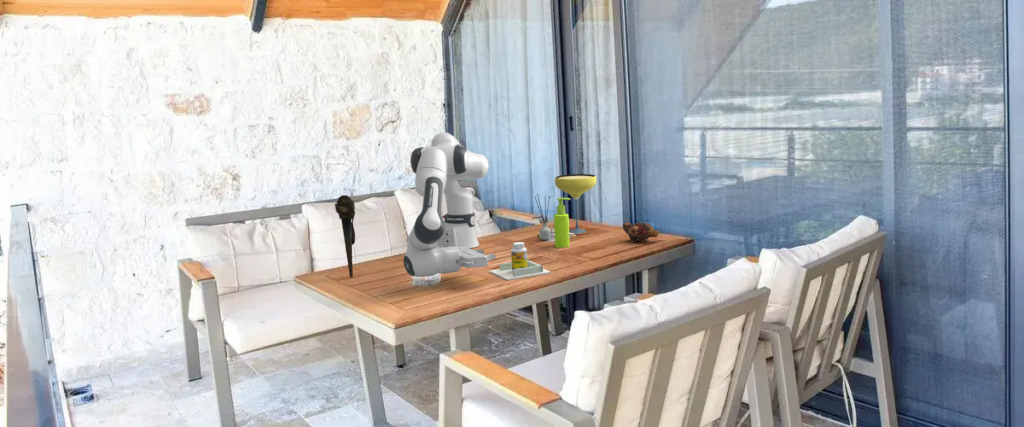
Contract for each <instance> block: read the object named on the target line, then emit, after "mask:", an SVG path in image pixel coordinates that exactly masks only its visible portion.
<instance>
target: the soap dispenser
mask: <svg viewBox="0 0 1024 427" xmlns="http://www.w3.org/2000/svg"><path fill="white" fill-rule="evenodd" d="M556 200H557V201H558V204H557V206H556V213H555V214H553V221H554V223H553V224H554V225H553V226H554V246H555V248H557V249H565V247H567V248H570V247H571V244H570V235H569V231H570V223H569V221H570V220H569V214H568V213H566V206H565V205H564V203H563V202H564V201H565V200H566V201H571V198H569V197H557V198H556ZM563 200H564V201H563Z"/></svg>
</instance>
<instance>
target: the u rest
mask: <svg viewBox="0 0 1024 427" xmlns="http://www.w3.org/2000/svg"><path fill="white" fill-rule="evenodd" d="M488 272H489V273H490V274H492V275H494V276H496V277H499V278H501V279H503V280H506V281H512V280H514V281H515V280H518V279H525V278H531V277H537V276H543V275H549V274H551V273H552V271H550V270H547V269H545V268H544V265H542V264H539V263H538V262H537V263H536V262H534V261H531V260H529V259H527V267H526V268H520V269H514V270H513V271H512V261H509V262H504V263H499V268H498V269H497V268H496V269H492V270H489V271H488Z"/></svg>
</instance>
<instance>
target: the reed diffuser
mask: <svg viewBox="0 0 1024 427" xmlns="http://www.w3.org/2000/svg"><path fill="white" fill-rule="evenodd" d="M550 197H551V196H550V195H549V196H548V200H550V199H551V198H550ZM534 198H535V202H536V204H537V207H538V210H539V213H540V216H541V218H542V227H541V228H540V229H539V233H538V234H537V235H536V237H537V239H540V240H550V239H551V238H552V230H551V228H550V227H548V222H547V220H548V215H547V214H548V211H549V208H547V207H549V205H550V201H547V200H546V197H544V211H545V212H544V213H545V214H543V210H542V206H541V202H540V198H539V194H538V193H537V198H538V201H537V198H536V196H534ZM546 201H547V202H548V203H547V205H546ZM538 203H539V204H538ZM546 206H547V207H546ZM544 215H545V216H544ZM550 237H551V238H550ZM549 238H550V239H549Z"/></svg>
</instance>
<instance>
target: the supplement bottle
mask: <svg viewBox="0 0 1024 427" xmlns="http://www.w3.org/2000/svg"><path fill="white" fill-rule="evenodd" d="M510 249H511V250H510V254H511V256H510V258H511V262H512V271H513V270H514V269H520V268H526V267H527V260H528V249H527V248H526V247H525V242H523V241H518V242H517V241H516V242H513V243H512V248H510Z"/></svg>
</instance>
